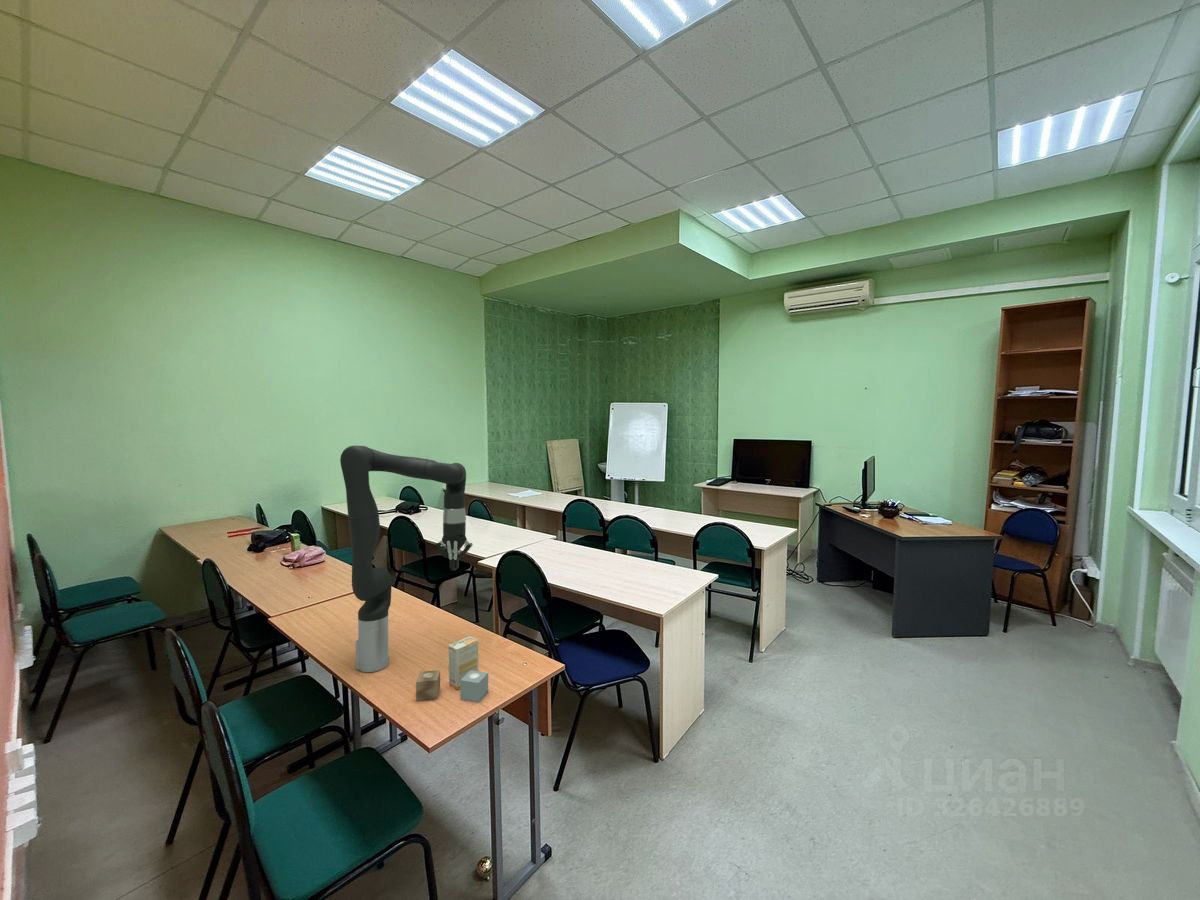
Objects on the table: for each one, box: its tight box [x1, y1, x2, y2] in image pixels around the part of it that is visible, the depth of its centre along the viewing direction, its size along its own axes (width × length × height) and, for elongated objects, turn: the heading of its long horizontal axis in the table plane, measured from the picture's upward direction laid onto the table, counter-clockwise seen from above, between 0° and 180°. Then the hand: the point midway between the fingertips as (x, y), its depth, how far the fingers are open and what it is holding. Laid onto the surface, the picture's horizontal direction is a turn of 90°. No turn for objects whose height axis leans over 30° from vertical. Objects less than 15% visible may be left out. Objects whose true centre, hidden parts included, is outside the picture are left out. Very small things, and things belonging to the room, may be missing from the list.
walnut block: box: [415, 669, 441, 702], centre depth 142 cm, size 6×6×6 cm
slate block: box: [459, 670, 489, 703], centre depth 142 cm, size 6×6×6 cm
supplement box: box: [447, 635, 479, 690], centre depth 149 cm, size 8×5×13 cm, turn 141°
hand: (454, 569), depth 163 cm, fingers closed
